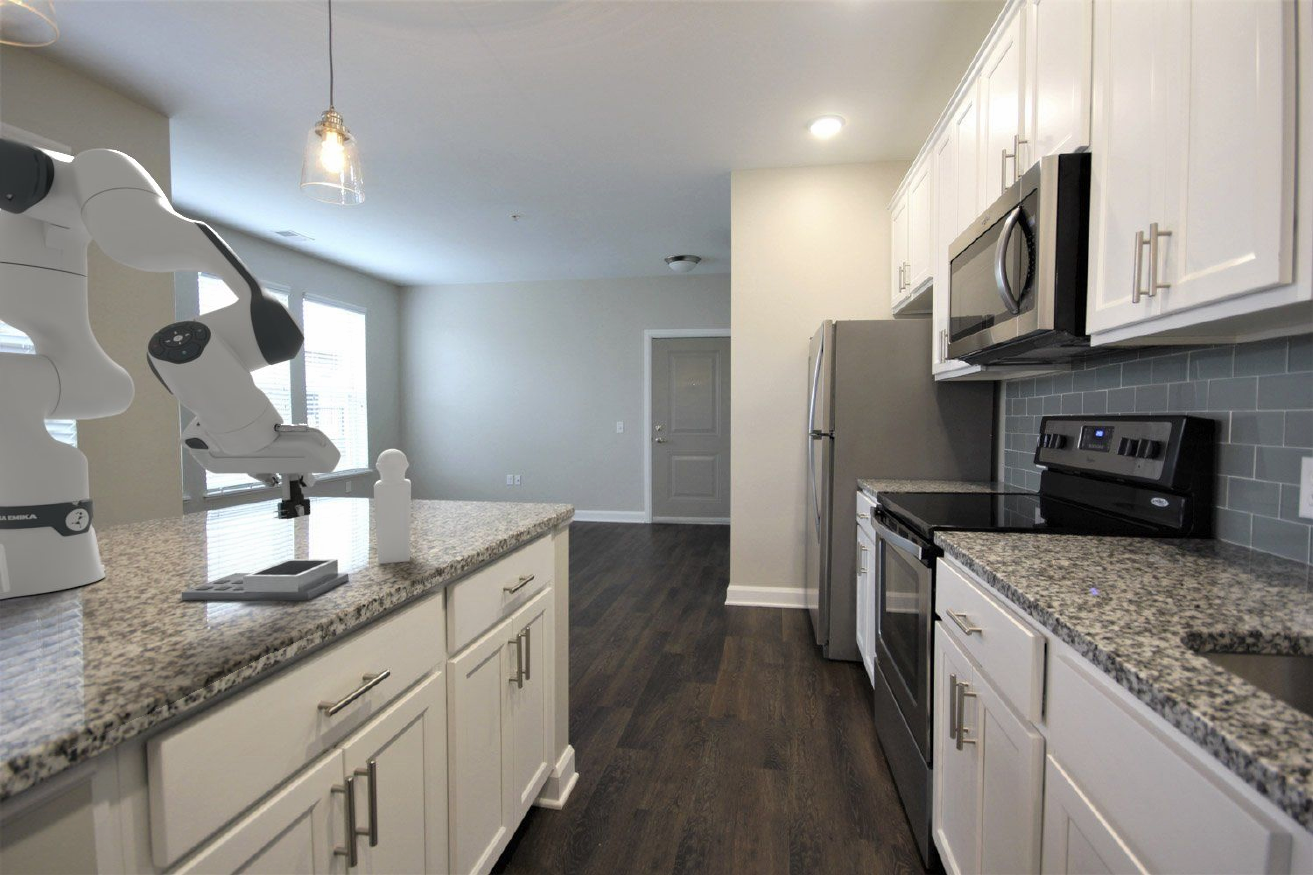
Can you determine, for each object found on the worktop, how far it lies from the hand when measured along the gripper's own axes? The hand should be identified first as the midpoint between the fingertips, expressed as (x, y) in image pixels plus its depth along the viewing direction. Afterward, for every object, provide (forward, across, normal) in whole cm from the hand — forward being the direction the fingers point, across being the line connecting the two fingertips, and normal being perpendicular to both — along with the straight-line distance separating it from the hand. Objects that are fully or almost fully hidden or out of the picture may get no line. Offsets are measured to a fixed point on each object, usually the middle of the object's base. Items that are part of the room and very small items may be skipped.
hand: (292, 484), depth 95 cm
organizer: (+12, +4, +13) cm, 18 cm away
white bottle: (+26, -7, -1) cm, 27 cm away
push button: (+4, 0, +4) cm, 6 cm away
